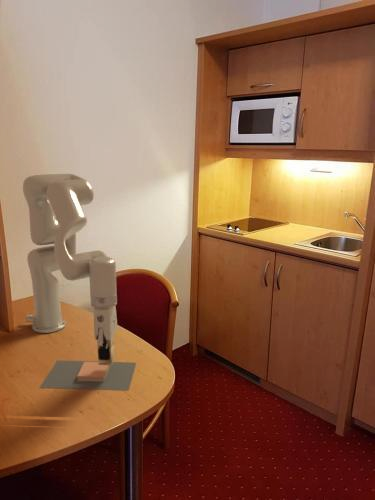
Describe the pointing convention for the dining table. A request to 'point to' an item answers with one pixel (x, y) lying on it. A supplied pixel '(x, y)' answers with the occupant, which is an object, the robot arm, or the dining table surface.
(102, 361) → the light wood block
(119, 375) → the mat
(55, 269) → the robot arm
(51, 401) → the dining table surface
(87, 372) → the tile
